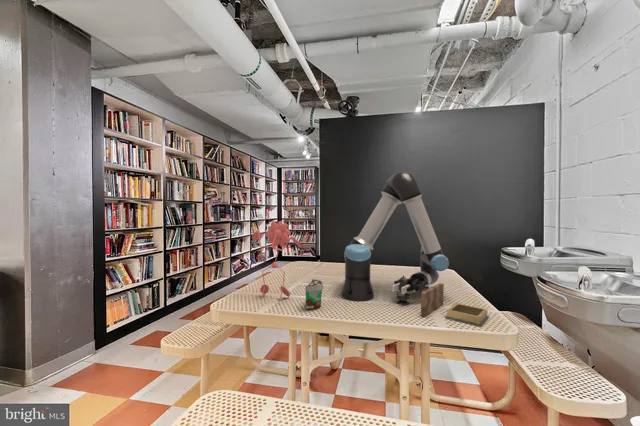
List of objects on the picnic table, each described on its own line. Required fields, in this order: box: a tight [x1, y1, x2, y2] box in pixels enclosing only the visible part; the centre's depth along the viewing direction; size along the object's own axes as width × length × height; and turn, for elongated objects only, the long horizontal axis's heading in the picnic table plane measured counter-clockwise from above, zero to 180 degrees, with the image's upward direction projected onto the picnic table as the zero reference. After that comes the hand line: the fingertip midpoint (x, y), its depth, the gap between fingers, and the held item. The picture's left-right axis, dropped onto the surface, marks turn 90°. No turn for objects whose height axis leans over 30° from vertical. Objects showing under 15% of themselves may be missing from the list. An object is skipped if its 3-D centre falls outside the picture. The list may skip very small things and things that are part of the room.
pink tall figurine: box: [251, 220, 303, 303], centre depth 137 cm, size 15×26×35 cm, turn 71°
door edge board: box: [420, 282, 445, 318], centre depth 119 cm, size 20×2×9 cm, turn 138°
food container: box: [304, 279, 324, 311], centre depth 121 cm, size 12×6×10 cm, turn 168°
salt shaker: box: [396, 274, 411, 305], centre depth 127 cm, size 6×6×12 cm
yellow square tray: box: [445, 303, 490, 328], centre depth 110 cm, size 12×12×3 cm
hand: (397, 289), depth 123 cm, fingers closed on salt shaker, 4 cm apart
